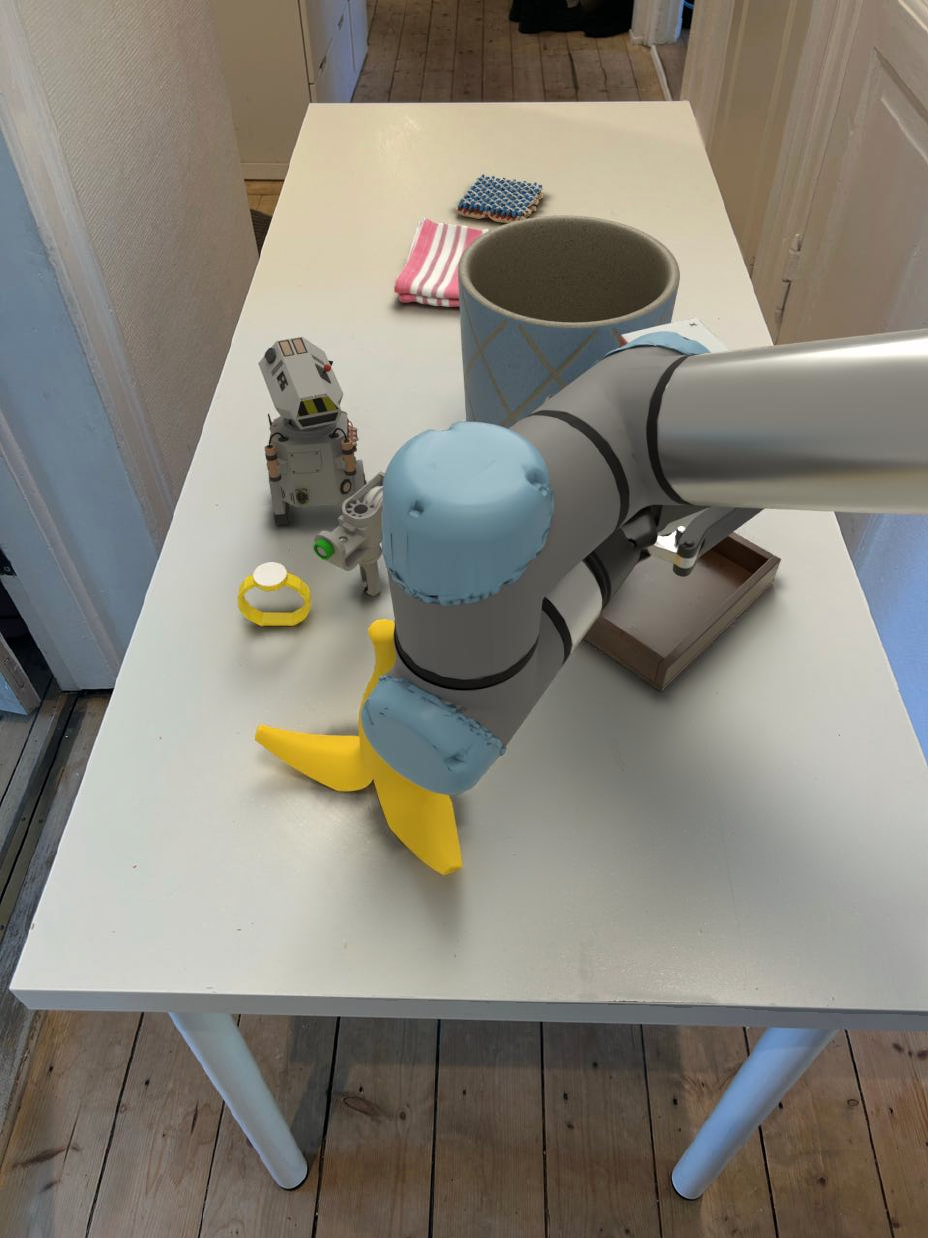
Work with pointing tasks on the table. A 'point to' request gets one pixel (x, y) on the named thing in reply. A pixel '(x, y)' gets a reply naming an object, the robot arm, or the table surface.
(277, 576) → the watch
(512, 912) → the table surface
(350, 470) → the figurine
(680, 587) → the wooden tray
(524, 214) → the woven mat
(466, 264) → the planter
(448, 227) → the dish towel
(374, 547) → the mechanical component
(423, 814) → the banana peel
